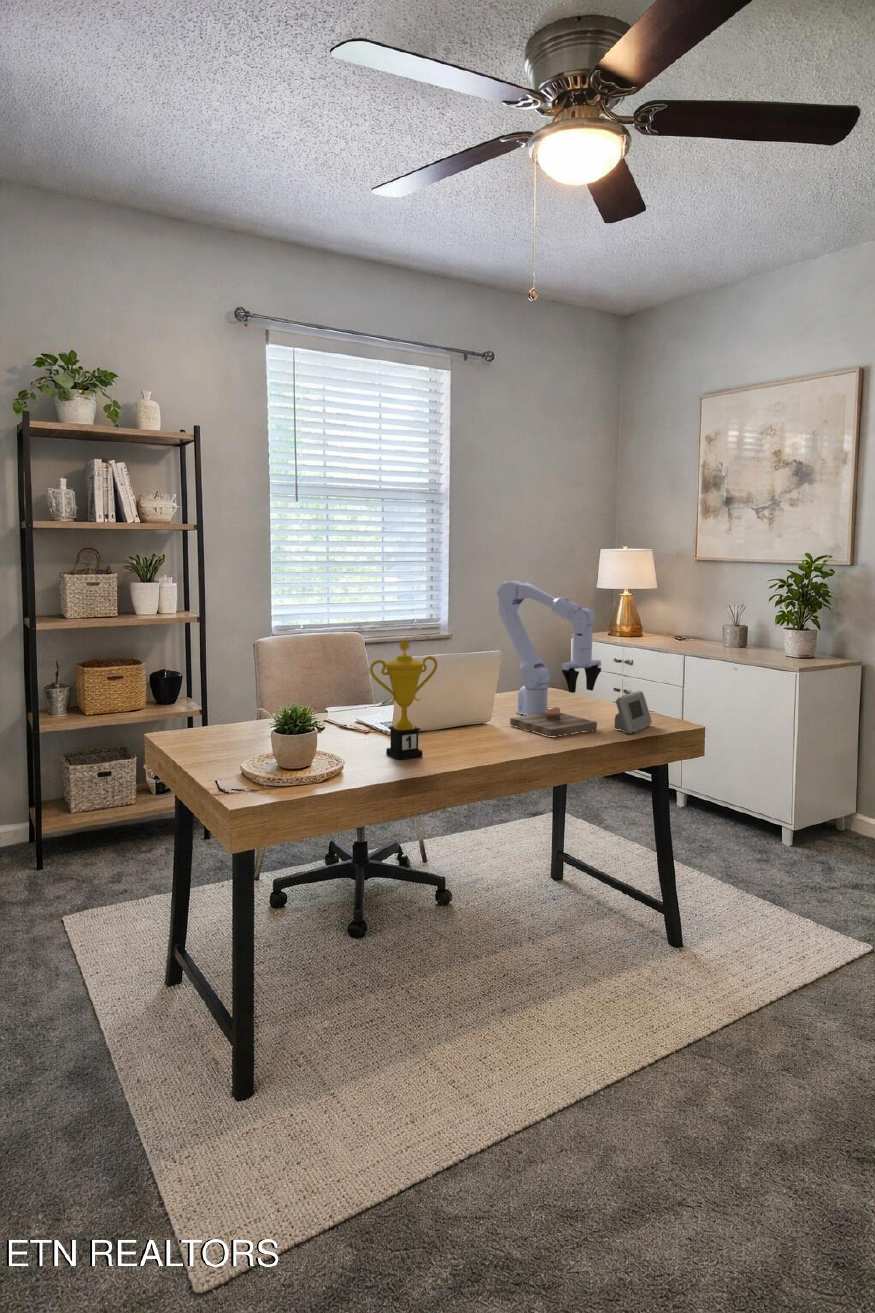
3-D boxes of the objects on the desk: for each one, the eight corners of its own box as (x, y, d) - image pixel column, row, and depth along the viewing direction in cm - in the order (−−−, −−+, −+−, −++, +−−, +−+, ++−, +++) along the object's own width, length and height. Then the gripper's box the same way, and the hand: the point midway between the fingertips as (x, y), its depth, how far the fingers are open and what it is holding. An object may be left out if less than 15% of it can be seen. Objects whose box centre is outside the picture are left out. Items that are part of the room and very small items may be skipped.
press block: (510, 726, 242) (510, 714, 242) (554, 719, 252) (555, 708, 252) (550, 738, 227) (551, 726, 227) (596, 730, 237) (596, 718, 237)
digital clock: (629, 736, 231) (630, 699, 230) (603, 730, 238) (604, 695, 236) (660, 727, 242) (662, 693, 240) (635, 722, 248) (637, 689, 247)
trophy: (378, 764, 198) (378, 644, 194) (362, 755, 207) (361, 639, 202) (445, 755, 208) (447, 640, 204) (427, 747, 216) (428, 636, 212)
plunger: (543, 727, 240) (543, 707, 239) (553, 725, 242) (553, 706, 242) (552, 729, 237) (553, 710, 236) (562, 728, 239) (563, 708, 238)
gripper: (574, 650, 239) (572, 695, 241) (608, 647, 247) (607, 690, 249) (558, 648, 245) (556, 691, 247) (592, 645, 253) (590, 687, 255)
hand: (581, 691), depth 249 cm, fingers open, 7 cm apart
